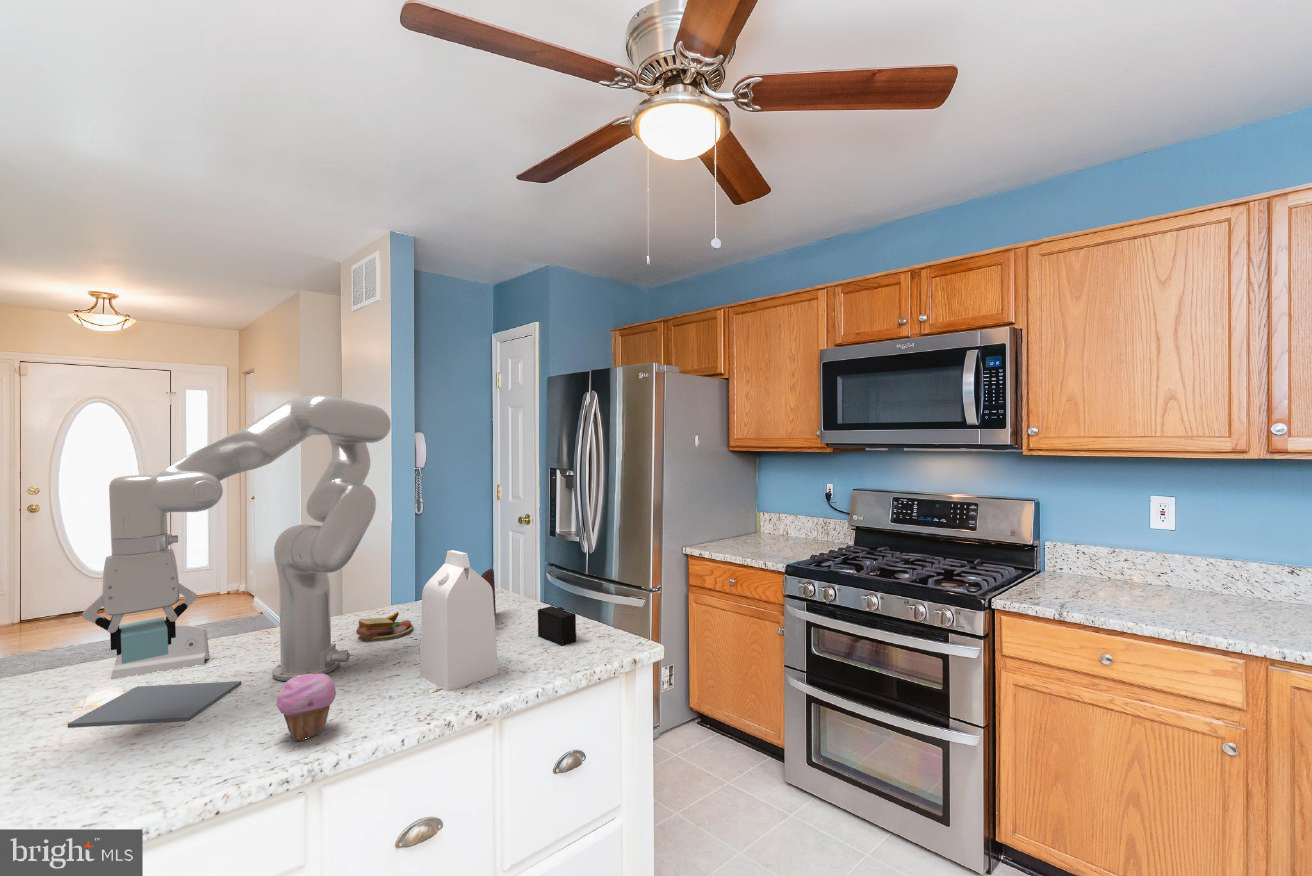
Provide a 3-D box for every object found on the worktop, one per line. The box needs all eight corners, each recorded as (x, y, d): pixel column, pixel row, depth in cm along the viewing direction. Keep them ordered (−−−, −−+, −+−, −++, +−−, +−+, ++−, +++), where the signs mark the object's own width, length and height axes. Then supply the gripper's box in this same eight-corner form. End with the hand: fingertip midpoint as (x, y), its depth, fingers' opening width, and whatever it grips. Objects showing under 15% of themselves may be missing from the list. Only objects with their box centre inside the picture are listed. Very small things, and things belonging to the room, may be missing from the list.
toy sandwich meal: (418, 635, 154) (418, 617, 154) (360, 646, 146) (360, 627, 146) (407, 623, 164) (406, 606, 164) (352, 633, 156) (352, 615, 156)
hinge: (108, 679, 127) (113, 630, 130) (116, 679, 131) (121, 632, 134) (205, 665, 135) (208, 619, 138) (210, 665, 139) (212, 621, 142)
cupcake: (271, 734, 102) (270, 675, 102) (327, 717, 108) (326, 661, 108) (285, 753, 96) (284, 690, 96) (343, 733, 102) (342, 675, 102)
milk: (498, 674, 127) (496, 551, 127) (447, 691, 119) (445, 560, 119) (469, 660, 135) (467, 545, 135) (419, 675, 127) (417, 552, 127)
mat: (241, 684, 124) (241, 681, 124) (188, 720, 108) (188, 717, 108) (137, 689, 122) (137, 686, 122) (67, 727, 106) (67, 723, 106)
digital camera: (580, 641, 147) (580, 612, 147) (562, 646, 143) (561, 617, 143) (556, 631, 155) (555, 604, 155) (538, 636, 151) (537, 609, 151)
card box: (164, 641, 111) (163, 617, 111) (168, 654, 104) (167, 628, 104) (120, 650, 107) (120, 624, 107) (122, 664, 100) (121, 637, 100)
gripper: (199, 536, 114) (202, 630, 114) (72, 550, 102) (76, 655, 102) (204, 541, 108) (207, 640, 108) (70, 556, 96) (75, 668, 97)
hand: (144, 646), depth 105 cm, fingers closed on card box, 6 cm apart
